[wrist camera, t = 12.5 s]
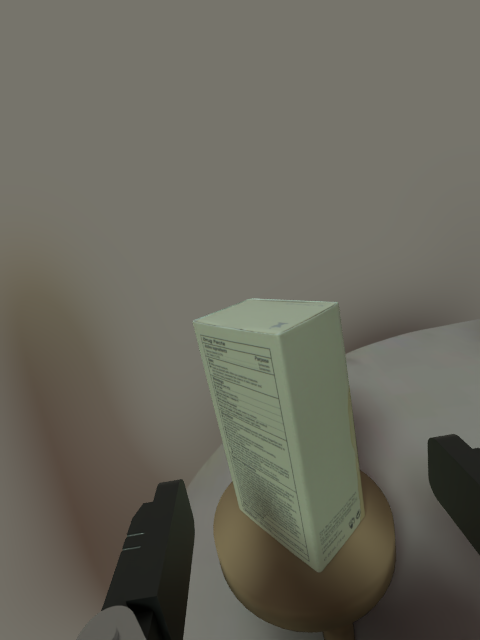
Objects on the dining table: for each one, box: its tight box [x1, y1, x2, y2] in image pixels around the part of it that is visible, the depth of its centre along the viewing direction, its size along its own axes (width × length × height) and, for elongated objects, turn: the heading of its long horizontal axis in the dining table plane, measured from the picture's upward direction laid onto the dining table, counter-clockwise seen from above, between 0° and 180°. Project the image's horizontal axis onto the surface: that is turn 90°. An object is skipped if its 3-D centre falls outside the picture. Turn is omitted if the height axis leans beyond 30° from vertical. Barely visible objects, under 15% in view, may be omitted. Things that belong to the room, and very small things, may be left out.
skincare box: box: [193, 299, 365, 572], centre depth 17 cm, size 6×4×12 cm
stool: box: [213, 470, 396, 640], centre depth 20 cm, size 10×10×6 cm
